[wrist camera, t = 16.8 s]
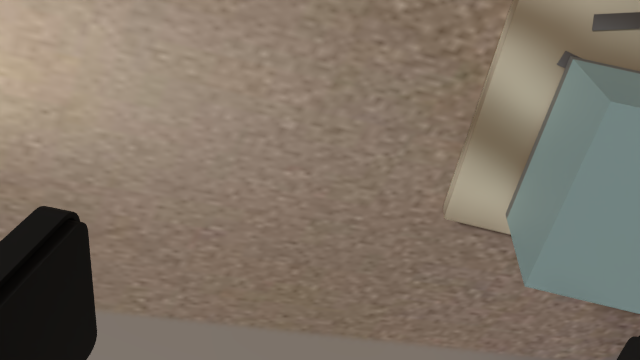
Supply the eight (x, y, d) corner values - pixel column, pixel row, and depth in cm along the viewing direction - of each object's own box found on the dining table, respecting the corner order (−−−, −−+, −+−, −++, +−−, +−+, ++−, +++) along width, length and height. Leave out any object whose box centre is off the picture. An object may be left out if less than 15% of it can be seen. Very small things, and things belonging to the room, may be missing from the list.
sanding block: (570, 56, 29) (610, 101, 23) (685, 81, 29) (757, 134, 23) (505, 214, 34) (524, 286, 28) (603, 237, 34) (644, 315, 28)
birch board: (596, -246, 25) (606, -254, 23) (895, -189, 24) (924, -194, 23) (442, 206, 36) (444, 219, 35) (643, 254, 35) (653, 269, 34)
